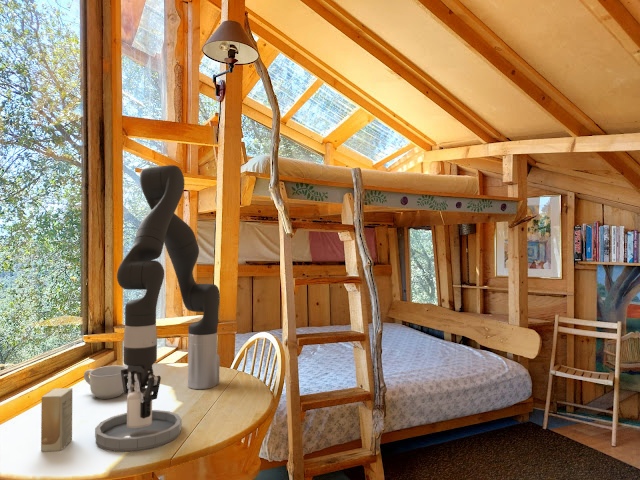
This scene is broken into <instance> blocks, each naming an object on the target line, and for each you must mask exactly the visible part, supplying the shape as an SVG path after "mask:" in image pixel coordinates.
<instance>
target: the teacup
mask: <svg viewBox="0 0 640 480" xmlns="http://www.w3.org/2000/svg"><path fill="white" fill-rule="evenodd" d="M126 368H128V366H127V365H106V366H101V367H97V368H94V369H93V368H90V369H86V370H85V371H84V372H83V373H84V374H83V377H84V381H85V382H86V383H87V384H88V385H89V387H90V391H91V393H92V395H93V396H95V397H96V398H98V399H103V400H107V399H114V398H116V397H117V398H118V397H119V396H121V395H122V394H123V393H124V390H123V384H122V377H121V370H122V369H126ZM127 378H128V377H127ZM127 385H128V383H127Z"/></svg>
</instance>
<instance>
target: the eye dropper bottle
mask: <svg viewBox="0 0 640 480" xmlns="http://www.w3.org/2000/svg"><path fill="white" fill-rule="evenodd" d="M142 388H146V386H145V387H142ZM134 390H135V391H133V392H131V393H129V394H127V396H126V397H127V398H126V413H127V428H129V429H136V428H143V427H147V426H150V425H151V424H152V410H153V400H151V408H150V409H151V413H150V416H149V417H146V418H141V417H140V406H141V399H140V393H138V392H137V385H136V382H135V383H134ZM144 395H146V391H145V392H144Z"/></svg>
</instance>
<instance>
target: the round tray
mask: <svg viewBox="0 0 640 480" xmlns="http://www.w3.org/2000/svg"><path fill="white" fill-rule="evenodd" d="M182 424H183V423H182V417H180V415H179V414H177V413H174V412H171V411H169V410H160V409H152V424H151V425H150V426H147V427H143V428H136V429H129V428H127V412H124V413H121V414H117V415H114V416H110V417H109V418H107V419H105V420H102V421H100V422H99V424H98V425H96V427H95V429H94V438H95V445H96V447H98V448H100V449H102V450H105V451H106V452H107V451H109V452H115V453H116V452H117V453H131V452H132V453H133V452H141V451H147V450H152V449H155V448H158V447H162V446H164V445H167V444H169V443H171V442H173V441H175V440H176V439H177V438H178V437H180V435H181V429H182Z"/></svg>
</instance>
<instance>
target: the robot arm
mask: <svg viewBox="0 0 640 480" xmlns="http://www.w3.org/2000/svg"><path fill="white" fill-rule="evenodd" d="M139 183H140V187H141V190H142V191H141V192H142V194H143V195H144V197H145V200H146V202H147V204H148V206H149V208H150V211H149V212H148V214H146V215H145V217H144V218H143V219H142V220H141V222H140V224H139V226H138V228H137V230H136V233H135V238H134V241H133V244H132V246H131V247H130V250H129V251H128V252H127V254H126V255H125V256H124V258H123V259H122V261H121V263H120V264H119V266H118V268H117V272H116V280H117V283H118V285H119V287H121V288H122V289H124V290H137V291H138V290H139V291H140V290H146V292H145V294H144V295H143V297H141V298H135V299H132V300H129V301H127V302H126V303H125V307H124V308H125V309H124V331H123V358H122V359H123V360H122V361H123V364H124V366H126V367H127V368H126V369H122V370H121V377H122V384H123V390H124V392H123V393H124V395H128V394H129V393H131V392H133V391H135V390H134V383H135V382H136V385H137V392H138V393H140V399H141V406H140V417H141V418H146V417H149V416H150V413H151V409H150V408H151V400H152V401H153V400H157V398H158V395H159V389H160V385H161V379H162V378H161V376H160V375H155V374H154V370H153V365H154V363H156V362H157V360H158V331H157V330H158V329H157V305H158V299H159V295H160V292H161V288H162V285H163V283H164V279H165V268H164V266H163V265H162V264H161V262H159V261H158V260H156V259H159V258H160V256H161V255H162V253H163V250H164V246H165V249H166V252H167V255H168V257H169V259H170V261H171V264H172V267H173V269H174V273H175V276H176V279H177V282H178V287H179V290H180V295H181V299H182V302H183V304H184V307H185V309H186V310H187V311H189V312H194V313H196V312H197V313H202V314H203V316H202V318H201V319H200V320H198V321H195V322H192V323H190V324H189V325H188V330H187V331H188V334H187V335H188V336H187V337H188V341H187V343H188V348H187V351H188V353H187V354H188V355H187V356H188V357H187V358H188V359H187V360H188V361H187V362H188V363H187V387H188V388H189V389H194V390H205V389H211V388H213V387H214V388H215V387H216V386H217V385H219V384H220V359H221V358H220V354H218V326H219V316H220V304H221V303H220V301H221V297H220V296H221V295H220V290H219V287H218V286H217V285H216V284H215V283H197V282H196V281H195V277H194V272H193V271H194V268H195V266H196V263H197V260H198V258H199V255H200V249H199V248H200V247H199V244H198V240H197V237H196V234H195V232H194V230H193V228H191V226H190V225H189V224H188V223H187V222H185V221H184V220H183V219H182V218H180V217H179V216H178V215H177V214H176V213H175V212H176V210H177V208H178V206H179V203H180V201H181V199H182V197H183V193H184V189H185V177H184V173H183V171H182V170H181V168H180V167H179V166H177V165H173V164H172V165H171V164H168V165H161V166H160V165H159V166H150V167H146V168H143V169H142V170H141V171H140V174H139ZM127 377H128V378H127ZM127 383H128V384H127ZM142 387H145V388H142ZM145 391H146V395H144V392H145Z"/></svg>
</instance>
